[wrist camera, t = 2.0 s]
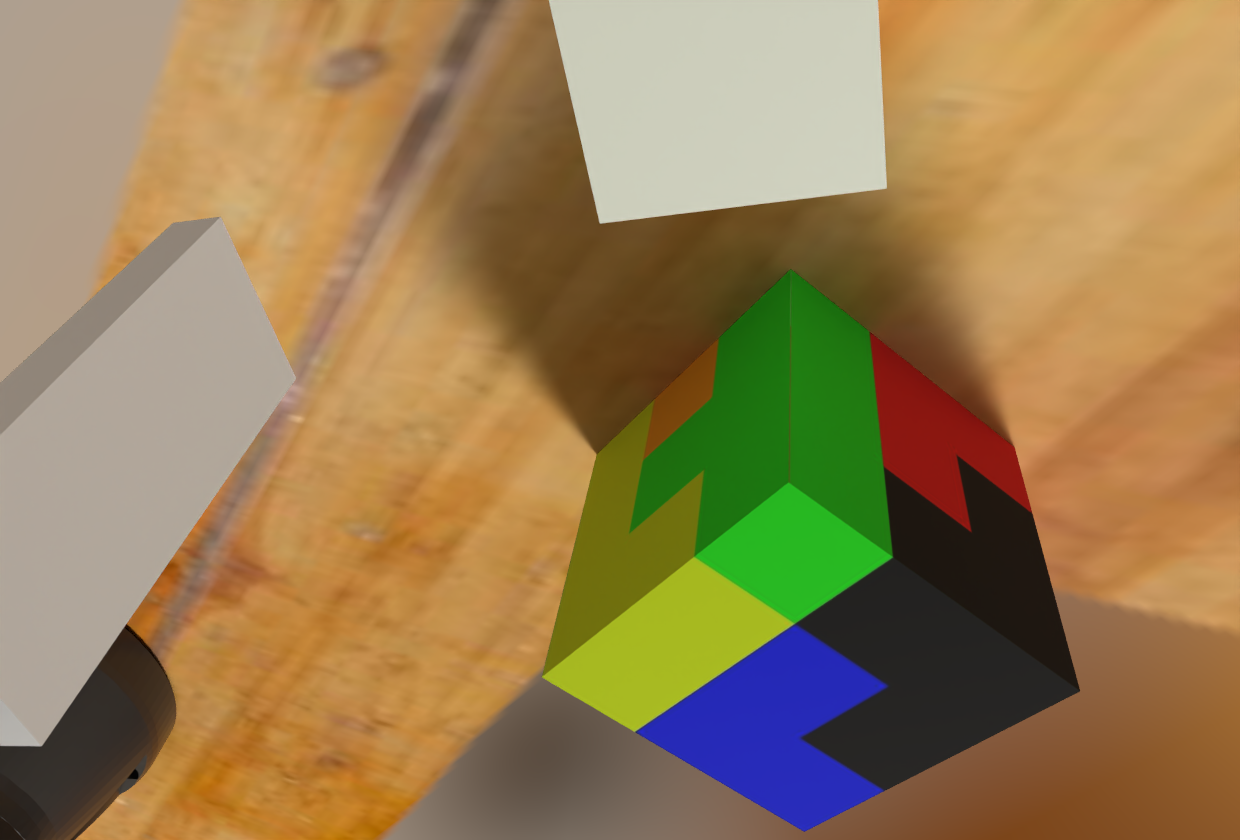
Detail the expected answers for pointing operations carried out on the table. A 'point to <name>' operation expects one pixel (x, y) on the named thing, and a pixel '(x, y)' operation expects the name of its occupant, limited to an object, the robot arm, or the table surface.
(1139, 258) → the table surface
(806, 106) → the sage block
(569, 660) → the puzzle toy
